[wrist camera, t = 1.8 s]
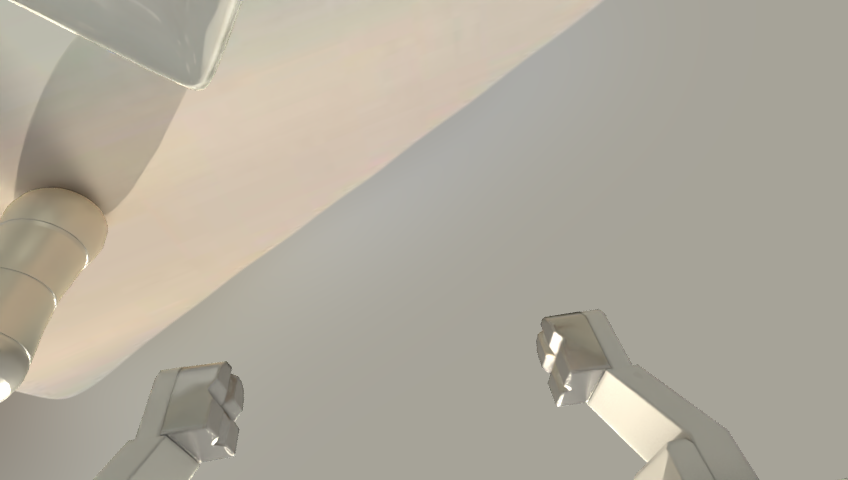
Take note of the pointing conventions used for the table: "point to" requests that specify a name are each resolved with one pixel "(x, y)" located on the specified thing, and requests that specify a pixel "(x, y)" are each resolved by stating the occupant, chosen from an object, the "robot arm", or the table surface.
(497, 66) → the table surface
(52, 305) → the plastic bottle
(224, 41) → the square plate
